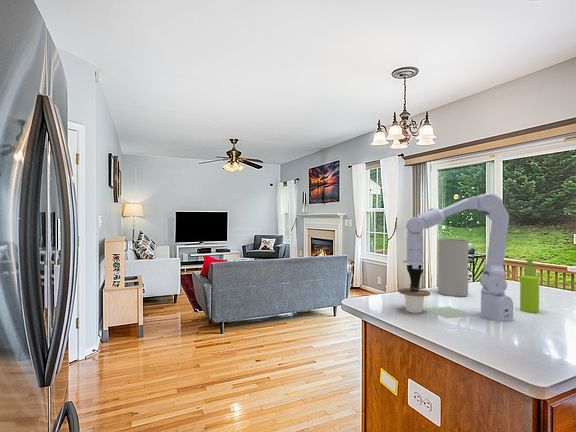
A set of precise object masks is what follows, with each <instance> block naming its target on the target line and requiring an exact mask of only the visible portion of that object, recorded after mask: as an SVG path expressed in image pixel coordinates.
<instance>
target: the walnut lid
mask: <svg viewBox="0 0 576 432" xmlns="http://www.w3.org/2000/svg"><path fill="white" fill-rule="evenodd" d="M419 286H420V285H419ZM419 286H418V288H412V286H411V283H409V287H408V288H406V287H405V288H399V290H398V292H399V294H401V295H404V296H405V295H409V296H424V297H429V296H430V295H431V292H430V291H429V290H426V289H422V288H419Z"/></svg>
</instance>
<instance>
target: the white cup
mask: <svg viewBox="0 0 576 432" xmlns="http://www.w3.org/2000/svg"><path fill="white" fill-rule="evenodd" d="M404 298H405V310H406V311H407V312H410V313H413V314H414V313H415V314H416V313H417V314H418V313H422V312H423V309H424V301H425V300H424V299H425V296H409V295H404Z"/></svg>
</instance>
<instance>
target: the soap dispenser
mask: <svg viewBox="0 0 576 432" xmlns="http://www.w3.org/2000/svg"><path fill="white" fill-rule="evenodd" d="M524 261H526V266H524V267H523V269H524V270H523V273H524V274H522V275H520V278H519V281H520V282H519V285H520V286H519V287H520V288H519V292H520V293H519V294H520V295H519V299H520V300H519V302H520V303H519V310H520V311H522V312H525V313H531V314H538V313H540V276H536V267H534V266H533V262H534V261H538V262H543V260H542V259H539V258H531V257H530V258H529V257H528V258H524Z"/></svg>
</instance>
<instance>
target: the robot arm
mask: <svg viewBox="0 0 576 432" xmlns="http://www.w3.org/2000/svg"><path fill="white" fill-rule="evenodd" d="M464 210H476V211H478V212H480V213H482V214H484V215H485V216H486V217H487V218H488V219H489V220H490V221H491V225H490V231H489V232H490V233H489V240H488V248H487V255H486V256H487V257H486V258H487V259H486V264H485V265H484V267H483V272H482V274H481V275H480V277H479V284H480V285H481V286H482V288H481V290H480V312H478V313H477V312H476V313H474V316H478V317H481V318H484V319H487V320H489V321H492V322H495V323H505V322H514V321H515V320H516V319H515V318H514V302H513V299H512V298H511V297H510V296H508V295H506V293H505V292H506V291H507V288H508V283H507V280H506V271H505V269H504V262H505V255H506V247H507V240H508V239H507V238H508V230H509V221H510V215H509V213H508V211H507V209H506V206H505V205H504V203H503V199H502V198H500V197H499V196H498V195H497V194H495V193H493V192H485V193H482V194H477V195H475V196H471V197H467V198H464V199H461V200H459V201H457V202H455V203H453V204H450V205H448V206H446V207H444V208H442V209H440V208H438V207H435V208H433V207H431V208H428V211H426V212H423V213H418V214H416V216H413V217H411V218H409V219H408V220H407V222H406V225H405V227H406V229H407V230H406V231H407V232H406V235H407V236H406V259H404V260H403V261H402V262H403V264H404V263H405V264H406V270H407V272H408V276H409V278H410V284H411V286H412V288H418V286H420V280H421V277H422V274H423V272H424V269H422V268H423V265H424V237H423V231H424V229H429V228H432V227H434V226H437V225H439V224H442V223H444V220H445V218H448V217H449V216H452V215H454V214H457V213H460V212H463V211H464Z"/></svg>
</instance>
